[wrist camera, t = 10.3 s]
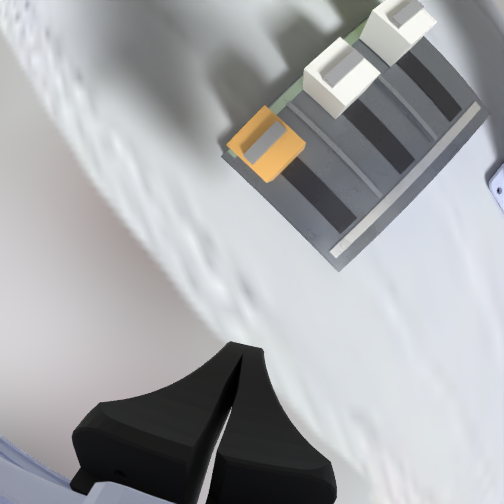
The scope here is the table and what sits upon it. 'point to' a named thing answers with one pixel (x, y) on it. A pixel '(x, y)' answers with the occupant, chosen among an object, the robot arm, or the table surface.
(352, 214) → the panel
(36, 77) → the table surface
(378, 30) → the white breaker
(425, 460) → the table surface
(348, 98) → the white breaker
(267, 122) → the breaker orange
